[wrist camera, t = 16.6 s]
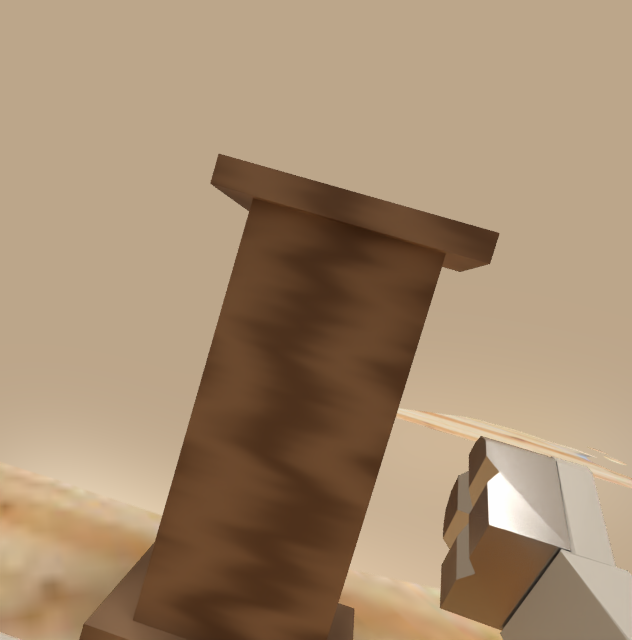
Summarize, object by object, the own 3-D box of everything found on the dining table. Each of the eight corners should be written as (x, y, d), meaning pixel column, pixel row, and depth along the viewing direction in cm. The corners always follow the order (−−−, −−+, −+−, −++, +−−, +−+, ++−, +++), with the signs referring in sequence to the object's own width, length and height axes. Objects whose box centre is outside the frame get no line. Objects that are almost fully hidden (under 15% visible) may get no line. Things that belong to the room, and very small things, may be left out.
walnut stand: (347, 629, 39) (465, 249, 37) (340, 745, 29) (501, 231, 27) (149, 562, 40) (255, 189, 38) (76, 651, 30) (215, 151, 28)
